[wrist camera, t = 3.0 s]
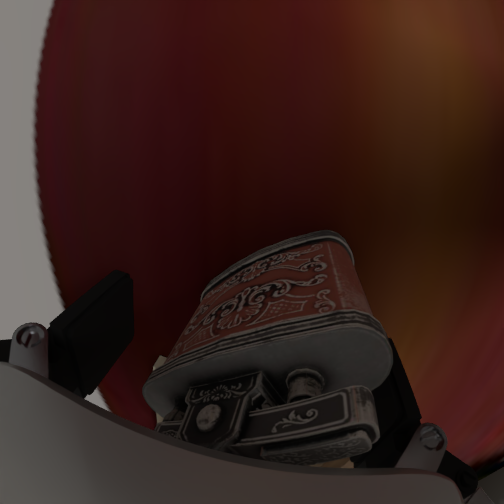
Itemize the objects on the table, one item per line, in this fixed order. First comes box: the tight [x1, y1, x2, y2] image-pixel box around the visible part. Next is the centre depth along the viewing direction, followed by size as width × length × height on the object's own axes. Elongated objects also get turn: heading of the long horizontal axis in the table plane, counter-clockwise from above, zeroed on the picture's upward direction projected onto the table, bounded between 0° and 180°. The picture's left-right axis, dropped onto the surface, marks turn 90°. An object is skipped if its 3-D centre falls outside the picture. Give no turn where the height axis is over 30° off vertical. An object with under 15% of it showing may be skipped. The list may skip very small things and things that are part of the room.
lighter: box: [143, 230, 393, 466], centre depth 9 cm, size 8×3×10 cm, turn 119°
